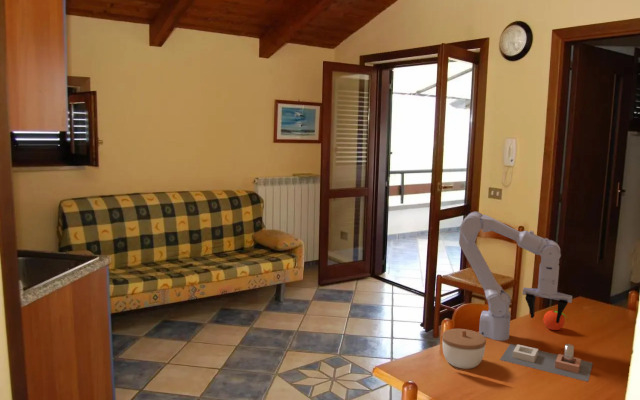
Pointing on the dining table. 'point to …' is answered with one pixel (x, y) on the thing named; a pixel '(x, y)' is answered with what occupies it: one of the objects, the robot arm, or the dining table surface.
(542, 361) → the board
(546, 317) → the clementine
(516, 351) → the pin mount
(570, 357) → the lock pin
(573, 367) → the socket
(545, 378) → the dining table surface
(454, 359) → the lidded bowl
